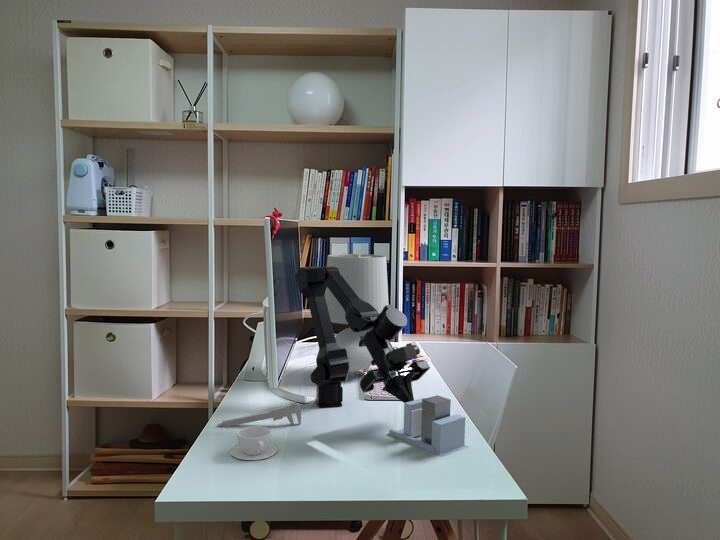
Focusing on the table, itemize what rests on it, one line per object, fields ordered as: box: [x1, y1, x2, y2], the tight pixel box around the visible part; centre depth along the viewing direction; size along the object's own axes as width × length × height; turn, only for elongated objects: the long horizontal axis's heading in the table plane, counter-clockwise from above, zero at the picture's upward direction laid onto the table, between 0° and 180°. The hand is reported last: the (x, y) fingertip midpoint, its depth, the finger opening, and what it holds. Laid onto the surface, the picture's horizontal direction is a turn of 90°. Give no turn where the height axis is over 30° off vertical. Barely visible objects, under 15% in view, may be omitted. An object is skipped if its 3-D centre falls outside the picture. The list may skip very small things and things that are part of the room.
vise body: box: [387, 413, 470, 457], centre depth 134 cm, size 17×9×8 cm, turn 40°
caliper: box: [216, 400, 302, 428], centre depth 145 cm, size 20×1×6 cm, turn 97°
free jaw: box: [403, 397, 425, 438], centre depth 136 cm, size 2×6×8 cm, turn 130°
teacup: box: [230, 425, 278, 461], centre depth 128 cm, size 10×10×5 cm
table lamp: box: [325, 253, 390, 383], centre depth 190 cm, size 23×22×40 cm
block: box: [421, 394, 452, 445], centre depth 132 cm, size 4×5×10 cm
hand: (412, 406), depth 137 cm, fingers closed
